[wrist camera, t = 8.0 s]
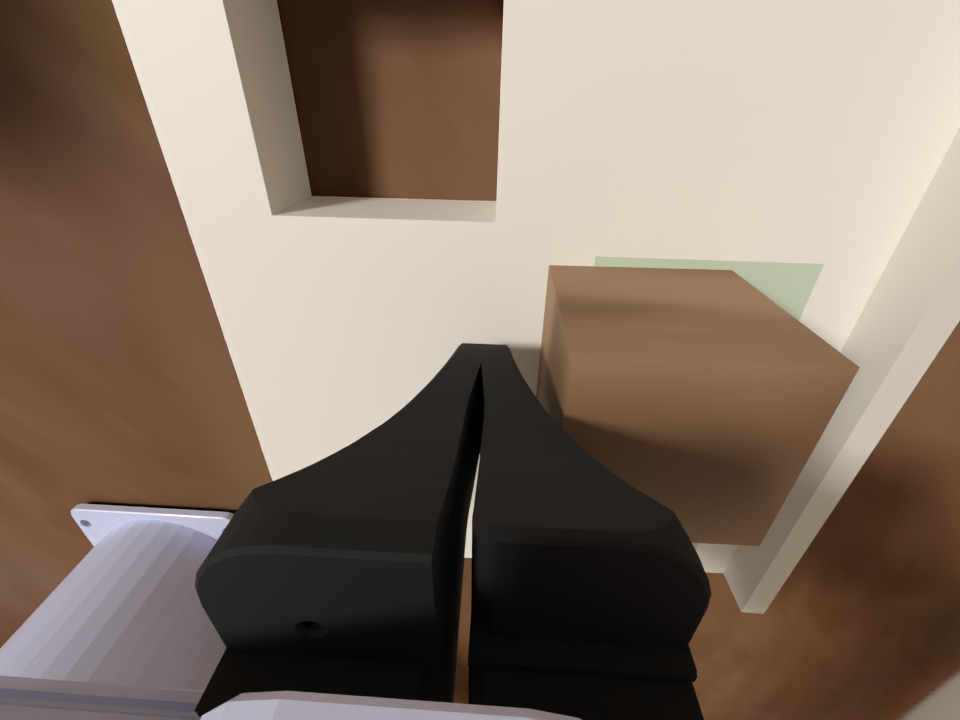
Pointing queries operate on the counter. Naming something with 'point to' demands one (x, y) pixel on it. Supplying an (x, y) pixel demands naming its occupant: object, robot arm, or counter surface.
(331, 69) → the counter surface
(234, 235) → the board
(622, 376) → the block
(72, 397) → the counter surface
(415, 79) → the counter surface
